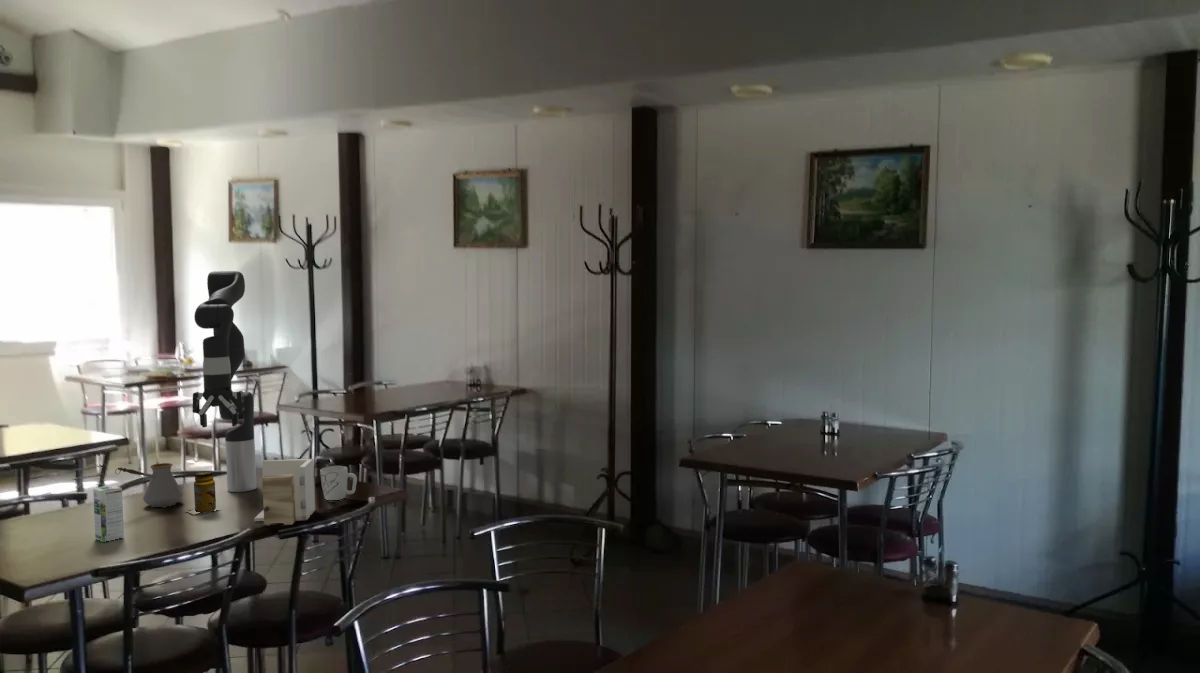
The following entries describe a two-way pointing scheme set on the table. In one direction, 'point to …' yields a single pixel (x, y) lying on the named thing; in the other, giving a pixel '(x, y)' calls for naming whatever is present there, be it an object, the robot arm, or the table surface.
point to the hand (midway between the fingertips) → (219, 426)
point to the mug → (336, 482)
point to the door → (279, 499)
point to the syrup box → (108, 513)
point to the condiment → (204, 492)
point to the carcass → (295, 483)
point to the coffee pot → (159, 486)
